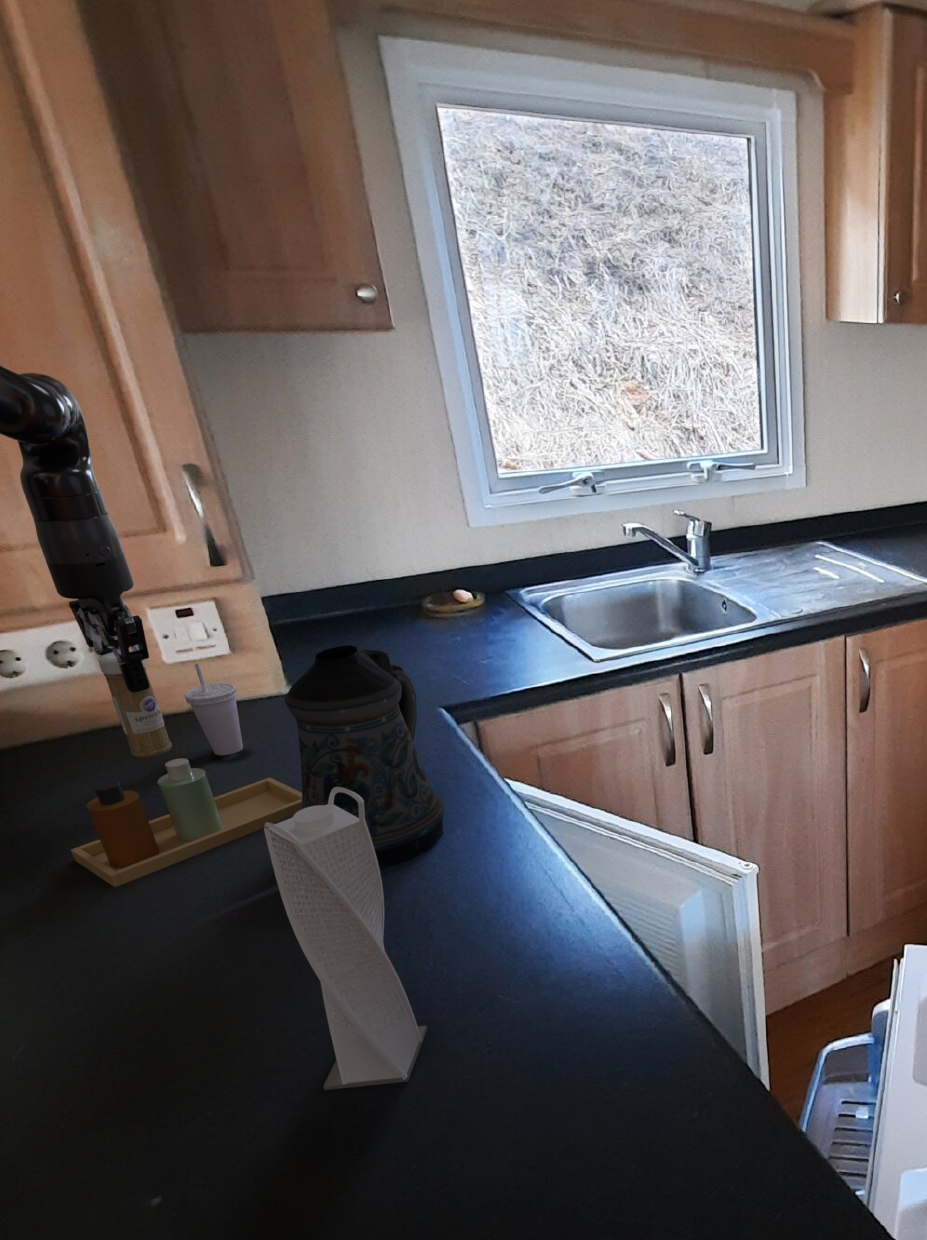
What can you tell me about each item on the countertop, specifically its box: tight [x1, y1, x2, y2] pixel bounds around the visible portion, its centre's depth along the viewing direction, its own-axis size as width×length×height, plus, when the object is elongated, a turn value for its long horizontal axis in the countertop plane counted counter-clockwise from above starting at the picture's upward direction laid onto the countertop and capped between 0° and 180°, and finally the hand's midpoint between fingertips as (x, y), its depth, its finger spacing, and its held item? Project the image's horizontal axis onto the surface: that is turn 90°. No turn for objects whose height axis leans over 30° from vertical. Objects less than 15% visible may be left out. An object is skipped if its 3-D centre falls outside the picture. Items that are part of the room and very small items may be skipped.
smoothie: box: [184, 663, 244, 756], centre depth 145 cm, size 6×6×14 cm
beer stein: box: [284, 645, 445, 869], centre depth 121 cm, size 16×19×25 cm
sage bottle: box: [157, 757, 224, 842], centre depth 123 cm, size 5×5×10 cm
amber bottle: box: [86, 780, 159, 868], centre depth 117 cm, size 5×5×10 cm
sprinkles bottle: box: [97, 649, 173, 758], centre depth 126 cm, size 5×5×13 cm
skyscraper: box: [263, 787, 428, 1091], centre depth 84 cm, size 8×8×28 cm
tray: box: [70, 777, 302, 888], centre depth 125 cm, size 24×11×2 cm, turn 147°
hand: (129, 685), depth 125 cm, fingers closed on sprinkles bottle, 4 cm apart
